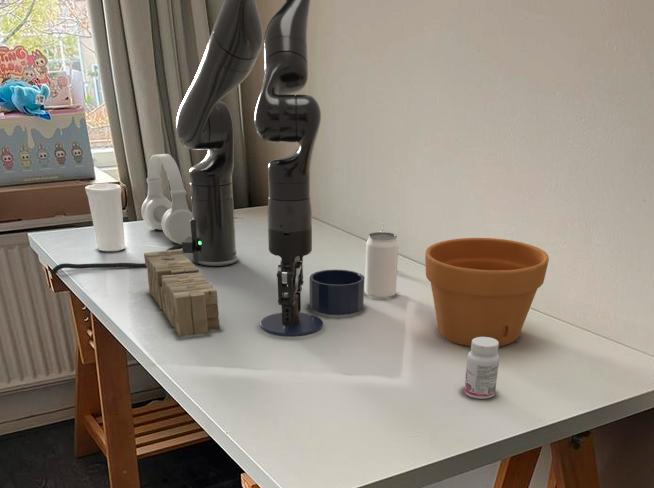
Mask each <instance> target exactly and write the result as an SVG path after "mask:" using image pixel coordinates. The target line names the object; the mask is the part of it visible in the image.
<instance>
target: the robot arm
mask: <svg viewBox="0 0 654 488" xmlns="http://www.w3.org/2000/svg"><path fill="white" fill-rule="evenodd" d="M310 6H311V0H285V1H284V2H283V3H282V4H281V6H280V7H279V8H278V9H277V11H276V12H275V13H274V15H273V16H272V17H271V19H269V20H270V21H269V22H268V24H267V27H266V30H265V32H264V29H263V24H262V20H261V19H262V18H261V16H260V12H259V7H258V4H257V0H223V2H222V5H221V8H220V11H219V12H218V15H217V18H216V20H215V23H214V25H213V27H212V30H211V33H210V36H209V39H208V41H207V45H206V49H205V51H204V53H203V56H202V59H201V62H200V64H199V66H198V69H197V71H196V74H195V76H194V79H193V80H192V82H191V85H190V86H189V88H188V90H187V92H186V94H185V96H184V98H183V100H182V102H181V104H180V106H179V109H178V112H177V116H176V120H175V122H176V123H175V127H176V128H175V129H176V136H177V139H178V141H179V142H180V144H181V145H182V146H183V147H184V148H186V149H187V150H192V151H203V150H204V151H205V150H207V154H206V155H205V157H204V158H203V159H202V160H201V161H200V162H198V163H196V164H195V165H193V166H192V167H191V168H190V169H189V171H188V172H189V173H188V177H189V179H188V180H189V189H190V201H191V212H192V216H193V219H191V220H190V225H191V237H187V238H186V239H185V240H184V241H183V242H182V244H177V245H173V246H171V247H169V248H167V249H165V251H167V250H176V249H181V250H182V251H183V254H192V260H193V261H192V262H193V264H198V265H202V266H205V267H225V266H229V265H232V264H235V263H237V261H238V256H237V243H236V226H235V207H234V191H233V190H234V189H233V172H234V167H235V161H234V160H235V158H234V155H235V154H234V151H235V150H234V149H235V148H234V147H235V146H234V144H235V143H234V142H235V141H234V135H235V134H234V122H233V121H234V120H233V117H232V113H231V110H230V107H228V105H227V104H226V103H225V102H224V101H222V100H223V99H224V98H225V97H226V96H227V95H228V94H230V93H231V92H232V91H233V90H235V89H236V88H237V87H238V86H240V85H241V84H242V83H243V82H244V80H245V79H247V78H248V77H249V75H250V73H251V72H252V70H253V68H254V66H255V64H256V61H257V59H258V57H259V55H260V52H261V50H262V47H263V62H264V64H263V65H264V72H263V73H264V74H263V82H262V85H261V90H260V93H259V96H258V100H257V102H256V106H255V110H254V118H253V121H254V128H255V132H256V134H257V136H258V137H259V138H260V140H262V141H264V142H266V143H270V144H298V147H297V149H296V151H294V152H293V153H292V154H289V155H285V156H282V157H278V158H277V157H276V158H274V159H272V160H271V161H269V163H268V165H267V193H268V196H267V197H268V202H267V238H268V241H267V242H268V251H269V253H270V254H271V255H274V256H277V257H280V258H281V260H280V263H279V264H278V265H277V273H276V277H277V278H276V279H277V304H278V306H281V313H282V324H283V325H284V326H293V325H294V324H295V303H296V301H295V294H297V295H298V304H299V313H301V310H302V306H301V305H302V303H301V299H302V298H301V296H302V295H301V293H302V290H303V287H302V286H303V285H304V256H305V257H306V256H308V255H310V254H311V252H312V251H313V211H312V203H311V167H312V159H313V154H314V149H315V145H316V142H317V138H318V136H319V135H318V134H319V131H320V127H321V123H322V112H321V107H320V105H319V103H318V101H317V99H315V97H314V96H312V95H309V94H295V93H299V92H300V91H302V90H303V89H304V88H305V87H306V85H307V83H308V79H309V62H308V25H309V24H308V22H309V15H310V14H309V13H310ZM112 268H113V269H114V268H116V269H117V268H133V269H138V268H139V269H140V268H141V269H142V268H147V266H146V265H145V262H141V263H140V262H138V263H137V262H105V263H104V262H102V263H101V262H100V263H95V262H94V263H70V262H69V263H67V262H65V263H59V264H57V265H56V266H54V267H53V268H52V269H51V271H50V274H56V273H58V271H61V270H62V269H72V270H73V269H75V270H79V269H81V270H83V269H112ZM285 294H289V297H290V298H284V295H285Z"/></svg>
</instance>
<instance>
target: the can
mask: <svg viewBox="0 0 654 488" xmlns="http://www.w3.org/2000/svg"><path fill="white" fill-rule="evenodd" d="M397 237H398V235H397V234H396V233H393V232H386V231H384V232H380V231H375V232H371V233H369V234H368V238H367V241H366V242H365V243H366V245H365V264H364V265H365V269H364V272H365V273H364V295H367V296H370V297H375V298H389V297H393V296H396V294H397V282H398V281H397V280H398V266H399V265H398V264H399V263H398V262H399V242H398V239H397Z"/></svg>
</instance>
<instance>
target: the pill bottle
mask: <svg viewBox="0 0 654 488" xmlns="http://www.w3.org/2000/svg"><path fill="white" fill-rule="evenodd" d="M498 345H499V342H498V341H497V340H496V339H494V338H490V337H477V338H474V339H473V340H472V343H471V347H470V351H469V352H468V354H467V359H466V369H465V377H464V378H465V379H464V387H463V389H464V393H465V395H466V396H468V397H470V398H473V399H478V400H479V399H480V400H487V399H490V398H493V397H494V396H495V394H496V391H497V389H496V388H497V380H498V373H499V365H500V355H499V353H498V352H499V347H498Z"/></svg>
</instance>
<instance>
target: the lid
mask: <svg viewBox="0 0 654 488" xmlns="http://www.w3.org/2000/svg"><path fill="white" fill-rule="evenodd" d="M284 298H290V297H289V294H288V293H284ZM295 301H296V303H295V324H294V325H293V326H284V325H283V324H282V312H278V313H273V314H270V315H267V316H264V317H263V318H262V319H261V320H260V323H259V324H260V325H259V326H260V328H261V329H262V330H263V331H264V332H266V333H268V334H271V335H276V336H282V337H300V336H307V335H311V334H315V333H317V332H319V331H320V330H322V328H323V326H324V323H323V319H321V318H320V317H318V316H317V315H313V314H311V313H305V312H299V304H298V295H297V294H295Z"/></svg>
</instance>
